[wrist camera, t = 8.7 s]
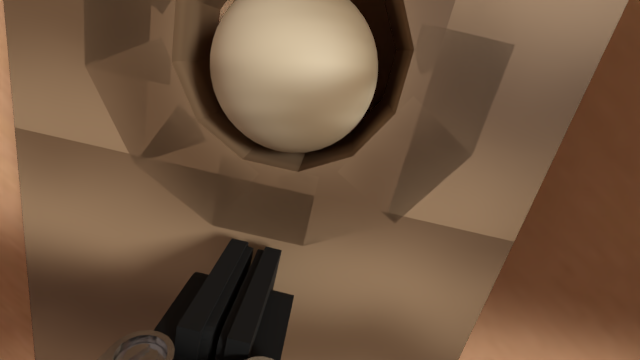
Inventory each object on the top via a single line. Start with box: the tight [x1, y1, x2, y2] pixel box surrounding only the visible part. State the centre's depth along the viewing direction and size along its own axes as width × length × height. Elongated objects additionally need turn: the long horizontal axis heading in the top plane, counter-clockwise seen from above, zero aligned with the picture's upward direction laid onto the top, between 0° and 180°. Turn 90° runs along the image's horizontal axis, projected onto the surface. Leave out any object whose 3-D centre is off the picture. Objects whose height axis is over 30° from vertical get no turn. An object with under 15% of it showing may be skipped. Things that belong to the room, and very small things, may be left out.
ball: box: [210, 0, 378, 153], centre depth 11 cm, size 5×5×5 cm
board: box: [3, 0, 628, 360], centre depth 13 cm, size 24×16×4 cm, turn 168°
